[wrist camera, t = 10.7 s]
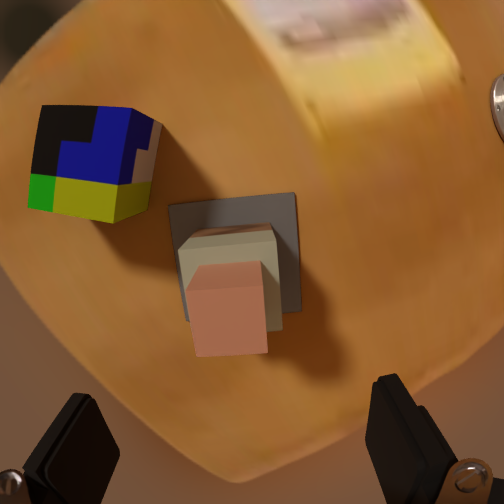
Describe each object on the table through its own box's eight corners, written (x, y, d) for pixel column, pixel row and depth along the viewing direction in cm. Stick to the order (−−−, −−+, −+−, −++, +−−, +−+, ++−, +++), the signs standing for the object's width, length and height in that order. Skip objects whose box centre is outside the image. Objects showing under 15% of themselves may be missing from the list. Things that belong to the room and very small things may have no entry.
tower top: (272, 229, 31) (276, 240, 26) (278, 307, 33) (282, 330, 28) (189, 238, 31) (177, 250, 26) (200, 314, 33) (192, 337, 28)
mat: (293, 192, 35) (294, 192, 35) (301, 310, 39) (301, 311, 38) (168, 205, 36) (167, 205, 35) (186, 319, 39) (186, 321, 38)
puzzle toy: (162, 124, 33) (131, 108, 24) (147, 210, 36) (113, 223, 26) (87, 117, 33) (42, 105, 23) (75, 197, 35) (27, 207, 26)
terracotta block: (260, 260, 26) (262, 285, 20) (264, 316, 28) (267, 352, 22) (199, 265, 26) (185, 290, 21) (206, 320, 28) (196, 356, 22)
